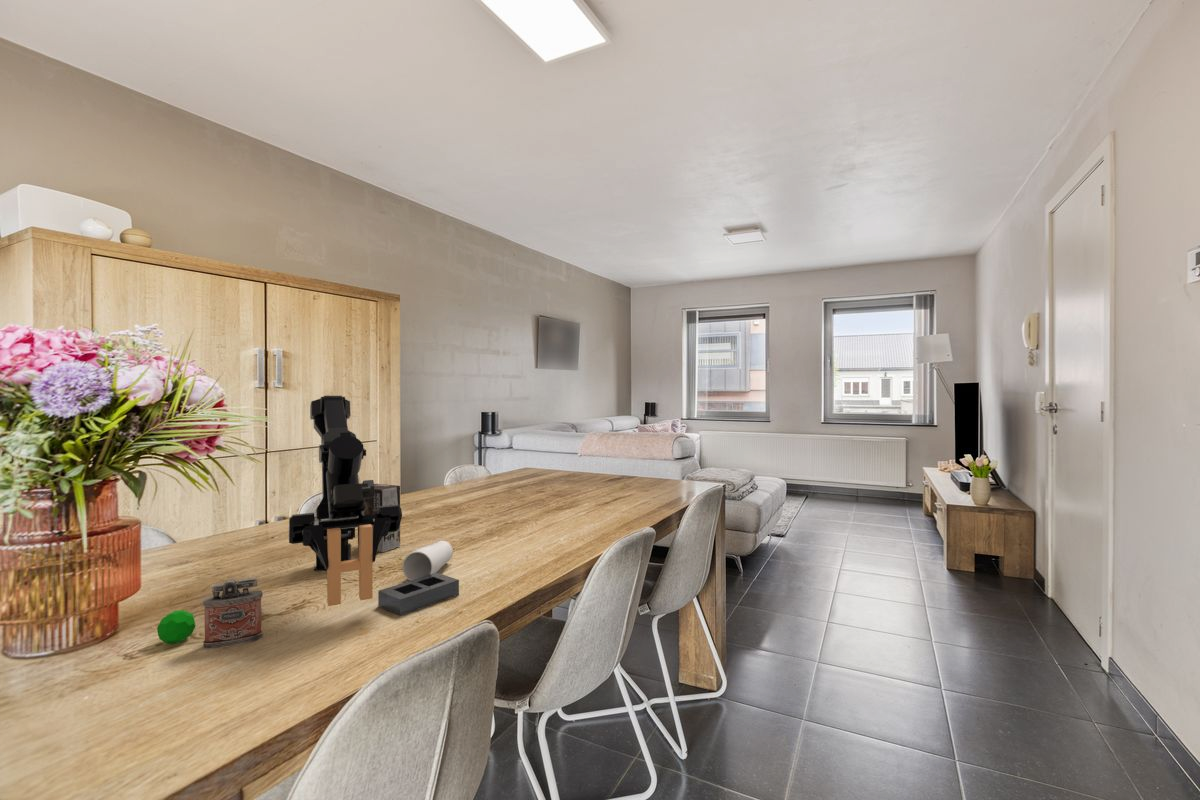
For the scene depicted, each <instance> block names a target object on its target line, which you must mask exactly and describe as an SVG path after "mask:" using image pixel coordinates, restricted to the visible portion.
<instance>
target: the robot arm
mask: <svg viewBox="0 0 1200 800" xmlns="http://www.w3.org/2000/svg"><path fill="white" fill-rule="evenodd" d="M309 407H310V408H309V414H310V415H309V419H310V420H313V429H314V430H315V432H316V433H317V434H318V436H320V444H319V446H318V462H319V463H321V488H322V490H321V491H322V494H321V495H322V499H321V501H320V502H319V504H318V505H317V507H316V510H315V512H307V513H306V512H305V513H297V514H291V516H290V517H289V518H288V520H289V521H288V543H289V544H292V545H295V544H302V546H303V547H310V549H311V550H312V551H313V552H314V553H315V566H314V567H313V571H327V569H328V567H329V563H328V554H327V529H333V528H340V530H341V561H347V560H352V559H351V558H352V557H351V555H352V554H351V551H352V550H351V549H352V548H351V547H352V545H351V543H349V540H354V538H356V528H358V527H359V526H360V525H369V524H371V525H372V527H373V553H372V562H373V563H375V562H376V558H377V554H378V551H377V549H378V546H379V543H380V541H381V538H382V537H384V536H387V535H388V532H395V531H397V530H399V526H400V527H401V522H402V518H403V510H402V508H401V506H400V507H399V506H398V505H388V506H379V507H378V512H377V514H373V515H363V511H364V510H365V503H364V499H373V497H374V496H375V487H374V484H375V482H374V480H373V479H367V480H363V481H362V482H361V483H360V479H359V473H360V470H361V466H362V460H363V459H364V457H367V450H366V449H365V448H364V443H363V442H362V441H361V440H360V439H359V438H358V437H357V435H356V434H355V433H354V432H352V431H350V430H349V427H348V420H349V419H350V417H351V401H350V400H348V399H346V397H345V396H342V395H324V396H320V398H317V399H315V400H312V401H310V406H309Z"/></svg>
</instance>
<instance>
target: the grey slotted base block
mask: <svg viewBox="0 0 1200 800" xmlns="http://www.w3.org/2000/svg"><path fill="white" fill-rule="evenodd" d="M377 592H378V593H377V594H378V602H377V603H378V605H377V606H378V608H381V609H383V610H386V611H388V612H390V613H393V614H395V615H398V616H399V617H401V616H404V615H406V614H409V613H412V612H414V611H417V610H418V611H419V610H421V609H423V608H426V607H429V606H431V605H435V604H437V603H439V602H442V601H446V600H449V599H450V597H451V598H453V597H456V596H459V595H460V594H459V593H460V580H459V579H457V578H454V577H451V576H448V575H446V574H442V573H439V572H437V573H434V574H431V575H427V576H424V577H421V578H418V579H414V580H411V581H410V580H408V581H405V582H402V583H398V584H396V585H392V586H389V587H386V588H383V589H379V590H378V591H377Z"/></svg>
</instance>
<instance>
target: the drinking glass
mask: <svg viewBox="0 0 1200 800" xmlns="http://www.w3.org/2000/svg"><path fill="white" fill-rule="evenodd" d="M453 554H454V549H453V546H452V544H451V543H450V542H448V541H446V540H438V541H435V542H433V543H431V544H427V545H424V546H421V547H419V548H417V549H414V550H413V551H411V552H410V553H408V554H407V555H406V556H405V558H404V559H403V561H402V573H403V575H404V577H405V578H406V579H407V580H408V581H411V580H414V579H418V578H421V577H424V576H427V575H431V574H434V573H439V572H438V571H440V569H442V567H444V566H445V564H447V563H448V562H449V561H450V560H452V558H453Z"/></svg>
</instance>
